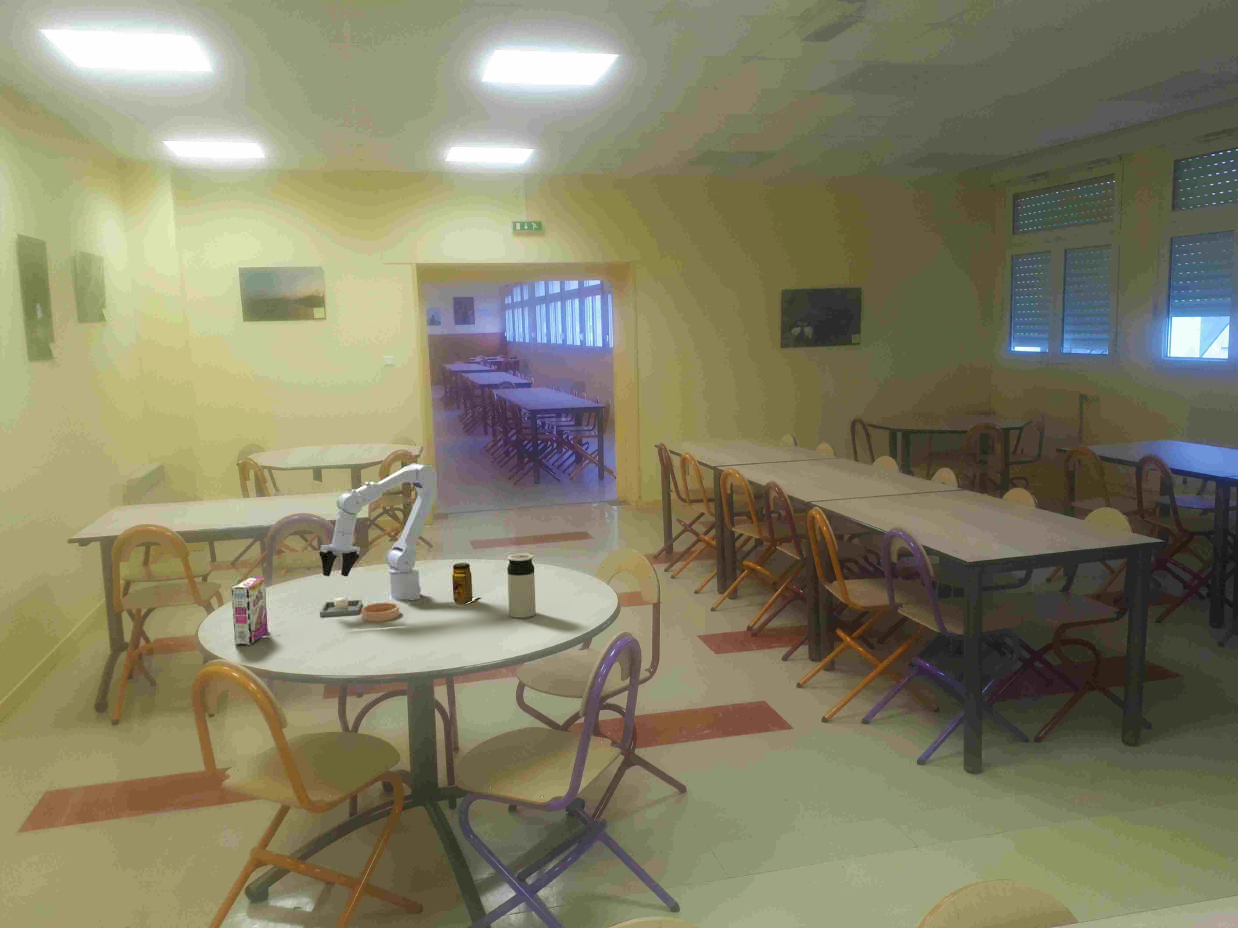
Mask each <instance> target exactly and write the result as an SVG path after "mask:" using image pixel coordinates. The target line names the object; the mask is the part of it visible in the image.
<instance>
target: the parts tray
mask: <svg viewBox="0 0 1238 928" xmlns="http://www.w3.org/2000/svg"><path fill="white" fill-rule="evenodd" d="M362 605H363V600H362V599H353V600H348V610H338V611H335V608H334V601H325V602H324V604H323V606H322V607H321V610H320V611H319V617H320V618H323V617H327V618H328V617H337V616H338V617H339V616H340V617H341V616H352V615H355V616H356V615H359V613H360V611H361V609H362V608H361V607H362Z"/></svg>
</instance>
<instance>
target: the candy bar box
mask: <svg viewBox="0 0 1238 928" xmlns="http://www.w3.org/2000/svg"><path fill="white" fill-rule="evenodd" d="M265 579H266V578H265V577H249V578H246V579H245V580H243V581H242V582H240V583H238V584H235V585H234V586H233V587H231V601H232V615H233V617H232V619H233V634H234V636H233V637H234V645H235V646H252V645H254V644H255V643H256V642H257V641H258V640H260V639H261V638H263V637H264V636H265V634H266V633H267V632H268V631H269V628H268V627H269V626H268V613H267V611H268V610H267V595H266V594H267V593H266V580H265Z"/></svg>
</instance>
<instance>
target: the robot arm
mask: <svg viewBox="0 0 1238 928" xmlns="http://www.w3.org/2000/svg"><path fill="white" fill-rule="evenodd" d="M437 479H438V474H437V473H436V471H435V469H434V467H432V466H431V465H429V464H428V465H425V464H420V463H417V462H413V463H410V464H409V465H406V466H404V467H402V468H401V469H400V470H398V471H395V472H394V473H393V474H391V475H389V476H387V477H385V478H384V479H381V480H380V481H378V482H375V481H366V482H365V483H364V485H362V486H361V487H359V488H357V489H352V490H351V491H350V493H343V494H342V495H340V496H339V498H338V500H336V507H337V509H338V511H337V516H336V521H335V526H334V527H335V528H334V533H333V536H332V542H331V543H330V544H324V545H323V544H321V545H320V549H319V552H318V553H319V554H318V555H319V557H320V559H321V565H322V575H323V576H324V577H330V576H331V573H332V569H333V565H334V562H335V561H336V559H337V558H338V555H337V554H336V553H339V554H341V556H342V557H341V558H342V567H341V576H343V577H346V578H347V577H348V576H349V575H350V572H351V570H352V568H353V566H354V565H355V563H356V561H358V560H359V559H360V550H361V547H359V546H352V545H353V544H352V543H353V538H354V532H355V528H356V524H357V516H358V513H360V512H361V510H362V509H363V507H366V506H367V505H370V504H371V503H373V502H374V501H376V500H378V499H380V498H382V496H383V493H384V492H386V491H388V490H390V489H392V488H395V487H397V486H399V485H401V484H404V483H411V485H413V486H414V488H415V490H416V493H417V497H416V500H415V502H414V505H413V507H412V509H411V511H410V514H409V516H408V518H407V521H406V523H405V525H404V528H403V531H402V533H401V536H400V537H399V539H398V540H397V541H396V542H395V543H393V546H391V549H389V550H388V551H387V553H386V555H385V563H386V565H387V566H388V567H389V569H388V570H389V588H390V595H389V597H388V600H389V601H397V600H398V601H399V600H400V601H401V600H409V601H413V600H419V599H420V595H421V593H422V592H421V591H422V590H421V586H420V585H421V583H420V571H419V569H414V568H415V566H416V565H415V564H416V556H417V554H418V550H417V546H416V545H417V543H418V540H419V538H420V535H421V533H422V530H423V529H424V526H425V523H426V521H427V518H428V516H429V514H430V512H431V509H432V507H433V504H434V502H435V499H436V497H437ZM334 553H335V554H334Z"/></svg>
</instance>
